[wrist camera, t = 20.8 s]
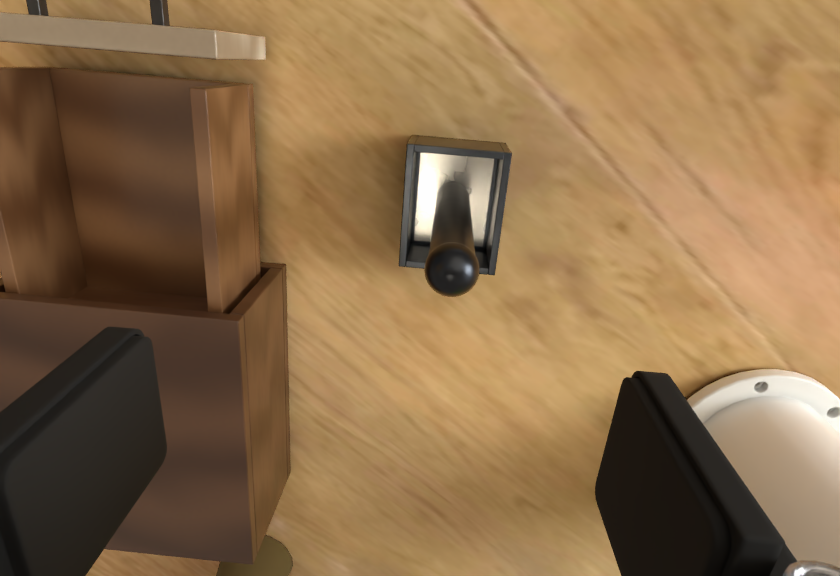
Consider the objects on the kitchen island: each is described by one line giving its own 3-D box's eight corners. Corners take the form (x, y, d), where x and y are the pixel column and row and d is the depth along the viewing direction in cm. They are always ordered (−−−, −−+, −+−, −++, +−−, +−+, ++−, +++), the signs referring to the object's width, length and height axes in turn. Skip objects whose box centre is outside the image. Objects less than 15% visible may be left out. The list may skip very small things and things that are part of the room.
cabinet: (71, 244, 36) (-36, 294, 28) (286, 264, 36) (238, 321, 28) (109, 453, 43) (31, 541, 35) (290, 472, 43) (253, 565, 35)
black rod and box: (412, 134, 32) (383, 182, 19) (505, 143, 32) (539, 196, 19) (404, 246, 35) (374, 352, 22) (490, 254, 35) (511, 365, 22)
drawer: (7, -99, 28) (-122, -146, 22) (262, -79, 28) (205, -121, 21) (78, 288, 37) (0, 335, 30) (274, 307, 36) (236, 358, 30)
